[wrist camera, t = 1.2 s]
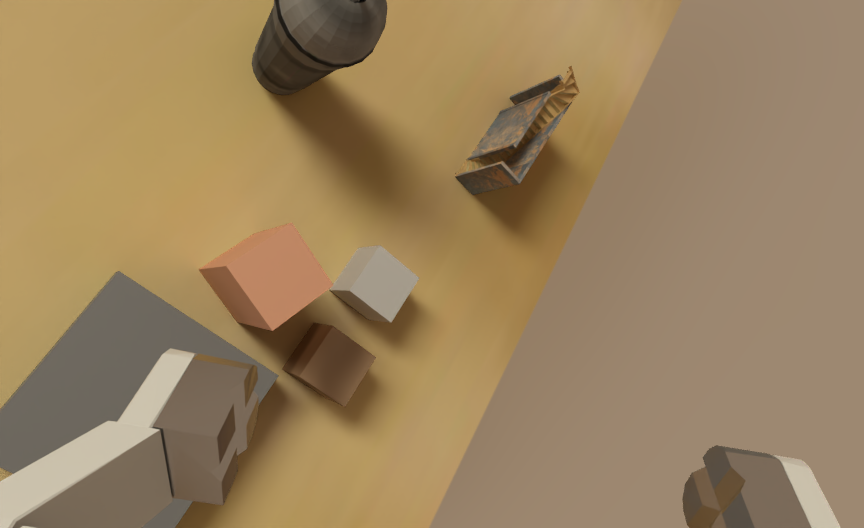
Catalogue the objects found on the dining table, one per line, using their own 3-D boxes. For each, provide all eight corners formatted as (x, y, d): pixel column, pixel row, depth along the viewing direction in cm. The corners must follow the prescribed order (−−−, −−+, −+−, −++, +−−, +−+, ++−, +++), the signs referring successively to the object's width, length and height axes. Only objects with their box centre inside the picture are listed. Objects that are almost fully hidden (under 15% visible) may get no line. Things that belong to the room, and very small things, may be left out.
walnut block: (281, 368, 48) (299, 376, 44) (313, 322, 49) (333, 326, 45) (324, 397, 49) (344, 406, 46) (353, 351, 51) (376, 357, 47)
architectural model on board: (505, 94, 61) (572, 63, 52) (523, 115, 62) (592, 88, 53) (449, 174, 57) (512, 155, 48) (470, 195, 58) (535, 180, 50)
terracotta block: (237, 322, 46) (272, 330, 37) (198, 269, 44) (225, 265, 36) (288, 285, 48) (333, 285, 39) (253, 233, 47) (291, 222, 38)
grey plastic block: (328, 290, 50) (349, 290, 46) (357, 248, 51) (380, 245, 47) (368, 319, 52) (391, 322, 48) (394, 278, 53) (419, 278, 49)
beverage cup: (306, 17, 49) (424, -125, 32) (333, 102, 50) (462, 8, 33) (220, 28, 46) (302, -125, 29) (252, 120, 47) (349, 25, 30)
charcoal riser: (-23, 436, 37) (-34, 451, 34) (115, 272, 42) (118, 271, 38) (157, 522, 43) (163, 544, 39) (264, 369, 47) (278, 375, 43)
